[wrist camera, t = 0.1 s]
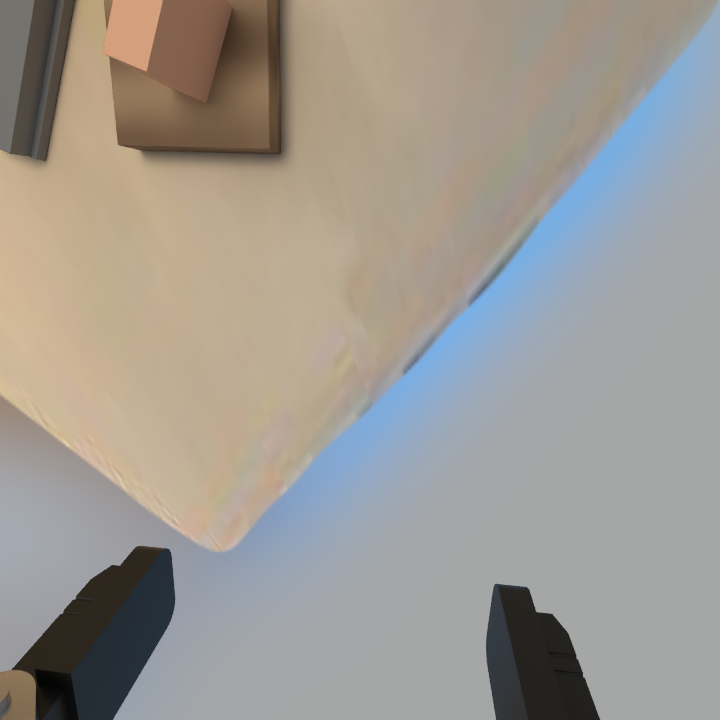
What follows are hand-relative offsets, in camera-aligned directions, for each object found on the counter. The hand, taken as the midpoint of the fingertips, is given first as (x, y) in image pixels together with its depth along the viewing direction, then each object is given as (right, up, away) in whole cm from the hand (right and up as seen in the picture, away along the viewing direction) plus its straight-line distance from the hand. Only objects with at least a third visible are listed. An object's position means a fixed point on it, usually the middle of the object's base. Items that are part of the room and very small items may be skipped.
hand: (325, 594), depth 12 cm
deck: (-10, +28, +23) cm, 38 cm away
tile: (-10, +26, +21) cm, 35 cm away
